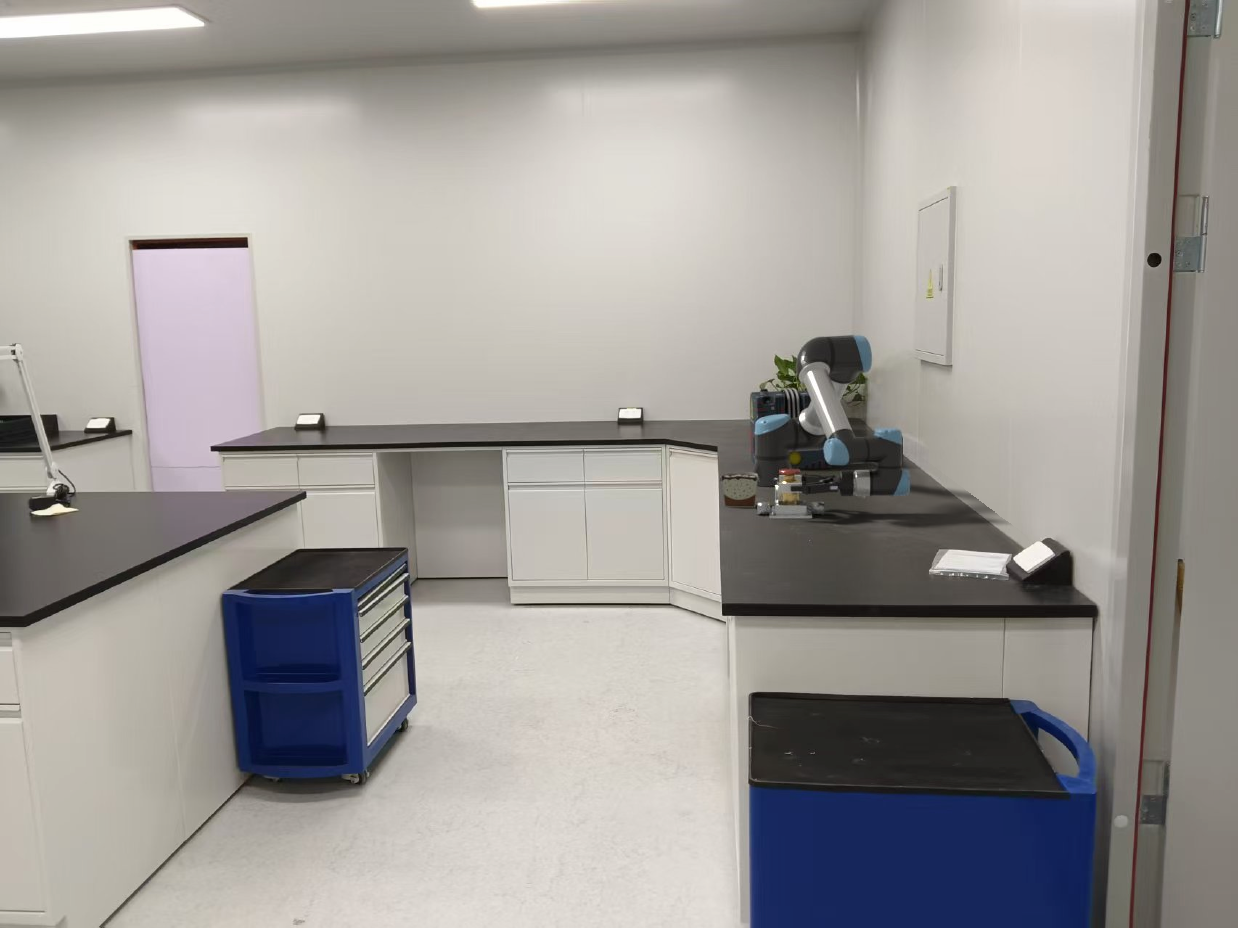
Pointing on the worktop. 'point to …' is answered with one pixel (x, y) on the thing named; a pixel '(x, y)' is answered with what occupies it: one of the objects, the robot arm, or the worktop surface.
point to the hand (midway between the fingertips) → (778, 483)
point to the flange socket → (790, 509)
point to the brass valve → (790, 478)
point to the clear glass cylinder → (777, 490)
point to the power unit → (792, 406)
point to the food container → (739, 489)
